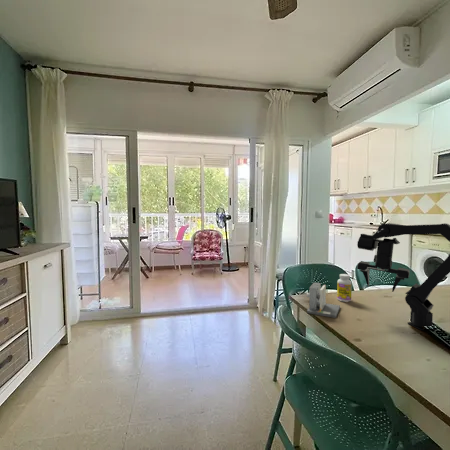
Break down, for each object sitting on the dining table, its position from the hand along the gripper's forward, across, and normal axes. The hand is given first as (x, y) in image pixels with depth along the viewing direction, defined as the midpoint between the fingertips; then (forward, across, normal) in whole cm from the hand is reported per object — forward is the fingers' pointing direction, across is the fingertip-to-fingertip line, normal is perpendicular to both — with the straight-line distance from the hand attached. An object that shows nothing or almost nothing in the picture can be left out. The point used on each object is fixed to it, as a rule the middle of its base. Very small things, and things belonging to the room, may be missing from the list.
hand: (380, 288), depth 114 cm
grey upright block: (+12, +24, +9) cm, 28 cm away
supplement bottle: (+14, +16, -13) cm, 25 cm away
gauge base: (+14, +20, +8) cm, 25 cm away
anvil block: (+13, +24, +8) cm, 28 cm away
